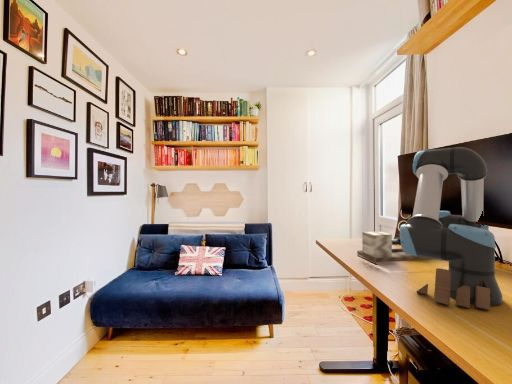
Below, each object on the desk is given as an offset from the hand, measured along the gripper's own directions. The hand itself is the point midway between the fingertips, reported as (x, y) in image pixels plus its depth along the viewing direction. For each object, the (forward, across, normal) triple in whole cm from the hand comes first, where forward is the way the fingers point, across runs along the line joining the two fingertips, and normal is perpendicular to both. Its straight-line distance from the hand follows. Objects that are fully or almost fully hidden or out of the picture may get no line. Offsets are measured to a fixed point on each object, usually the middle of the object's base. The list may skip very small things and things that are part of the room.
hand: (385, 242), depth 124 cm
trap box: (-11, 0, -8) cm, 14 cm away
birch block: (+5, 0, -7) cm, 9 cm away
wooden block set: (+13, -47, -9) cm, 49 cm away
